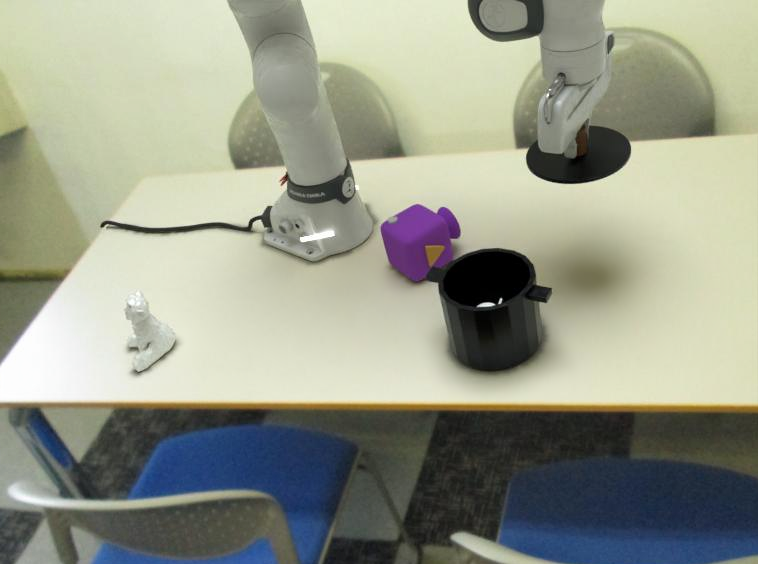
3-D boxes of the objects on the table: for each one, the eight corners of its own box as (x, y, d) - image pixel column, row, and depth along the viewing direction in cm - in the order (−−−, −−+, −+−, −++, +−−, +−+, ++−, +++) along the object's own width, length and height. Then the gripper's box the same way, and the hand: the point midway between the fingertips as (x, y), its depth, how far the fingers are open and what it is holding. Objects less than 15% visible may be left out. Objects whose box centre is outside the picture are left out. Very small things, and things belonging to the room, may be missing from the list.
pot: (536, 384, 121) (528, 321, 112) (421, 356, 129) (405, 297, 120) (571, 321, 128) (567, 258, 120) (460, 299, 137) (449, 239, 128)
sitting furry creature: (129, 343, 146) (97, 292, 137) (174, 325, 147) (146, 273, 139) (136, 374, 140) (104, 323, 131) (183, 355, 141) (154, 302, 132)
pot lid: (610, 193, 115) (610, 161, 111) (510, 180, 121) (506, 149, 118) (645, 137, 123) (645, 105, 120) (549, 128, 130) (547, 97, 126)
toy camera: (474, 247, 147) (466, 200, 140) (425, 289, 141) (414, 242, 134) (431, 231, 153) (421, 185, 145) (382, 271, 147) (369, 225, 140)
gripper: (567, 96, 104) (571, 189, 114) (619, 27, 115) (619, 117, 125) (522, 93, 107) (530, 183, 117) (577, 25, 118) (580, 113, 128)
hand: (576, 148), depth 121 cm, fingers closed on pot lid, 2 cm apart
